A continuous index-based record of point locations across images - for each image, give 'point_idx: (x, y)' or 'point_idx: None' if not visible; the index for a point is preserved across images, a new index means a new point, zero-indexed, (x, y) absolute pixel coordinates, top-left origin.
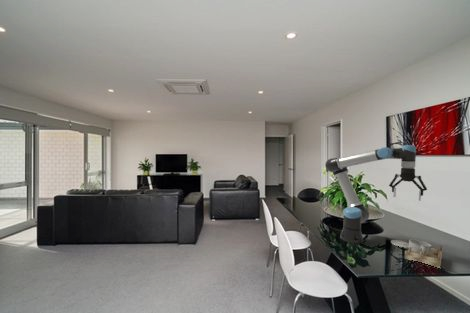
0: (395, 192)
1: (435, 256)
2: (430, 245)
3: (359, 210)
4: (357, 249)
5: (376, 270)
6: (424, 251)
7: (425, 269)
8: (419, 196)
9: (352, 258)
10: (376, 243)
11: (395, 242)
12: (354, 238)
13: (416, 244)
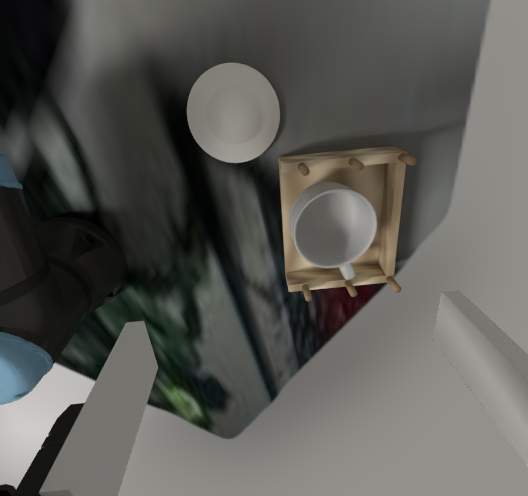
0: (125, 403)
1: (373, 175)
2: (373, 217)
3: (8, 371)
4: (154, 331)
5: (253, 403)
6: (353, 295)
7: (346, 303)
8: (476, 388)
9: (183, 394)
10: (160, 211)
11: (213, 133)
12: (102, 302)
13: (326, 266)
